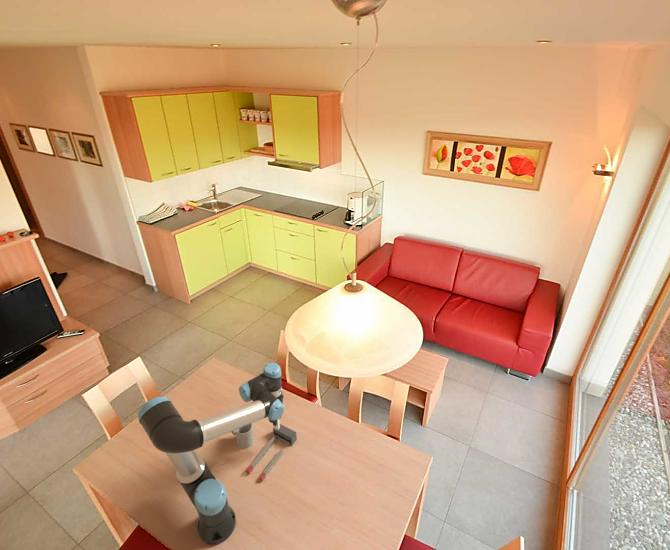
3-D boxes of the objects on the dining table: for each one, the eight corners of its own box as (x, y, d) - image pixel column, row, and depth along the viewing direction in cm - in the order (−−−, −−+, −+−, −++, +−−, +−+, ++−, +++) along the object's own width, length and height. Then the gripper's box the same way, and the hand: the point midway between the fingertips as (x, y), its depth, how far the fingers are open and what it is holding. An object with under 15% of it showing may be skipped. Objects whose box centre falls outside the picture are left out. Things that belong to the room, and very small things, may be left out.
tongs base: (281, 430, 204) (280, 426, 202) (295, 437, 200) (295, 433, 199) (246, 473, 183) (246, 469, 181) (262, 482, 179) (261, 478, 178)
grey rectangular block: (278, 430, 203) (277, 422, 201) (296, 439, 199) (296, 432, 196) (273, 435, 200) (272, 428, 198) (292, 445, 196) (291, 438, 193)
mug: (257, 436, 200) (255, 422, 195) (249, 450, 193) (247, 435, 188) (236, 430, 203) (234, 416, 198) (228, 444, 196) (225, 429, 191)
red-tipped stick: (281, 451, 192) (280, 448, 191) (283, 453, 192) (283, 450, 191) (259, 480, 179) (259, 477, 178) (261, 481, 179) (261, 478, 178)
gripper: (274, 405, 170) (276, 441, 182) (288, 385, 181) (289, 420, 192) (259, 400, 173) (262, 435, 184) (273, 380, 183) (276, 415, 195)
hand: (276, 427), depth 188 cm, fingers closed
